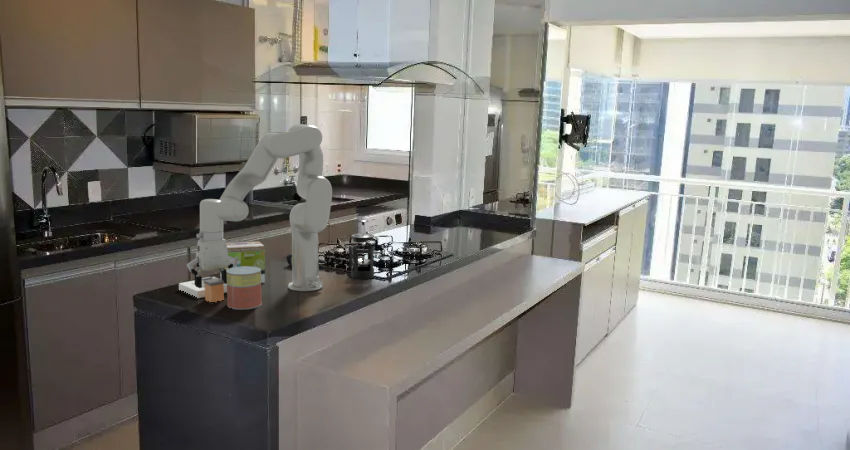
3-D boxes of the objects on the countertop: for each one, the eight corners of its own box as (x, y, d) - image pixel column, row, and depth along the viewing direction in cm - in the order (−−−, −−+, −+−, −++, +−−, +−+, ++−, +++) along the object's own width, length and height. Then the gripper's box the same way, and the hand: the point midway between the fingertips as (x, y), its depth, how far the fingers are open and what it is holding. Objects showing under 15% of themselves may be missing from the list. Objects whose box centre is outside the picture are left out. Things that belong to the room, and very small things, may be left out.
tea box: (225, 287, 240) (224, 248, 237) (220, 280, 248) (219, 242, 246) (265, 283, 246) (265, 245, 244) (259, 276, 255) (258, 240, 253)
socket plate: (234, 290, 235) (233, 282, 234) (197, 298, 225) (197, 289, 224) (214, 283, 244) (214, 275, 244) (179, 289, 234) (178, 281, 234)
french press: (380, 276, 260) (381, 220, 256) (366, 281, 252) (366, 223, 248) (357, 272, 266) (357, 216, 262) (342, 276, 258) (342, 219, 254)
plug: (224, 300, 223) (223, 280, 222) (211, 303, 220) (210, 283, 218) (217, 297, 226) (216, 278, 225) (204, 300, 223) (203, 280, 222)
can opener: (283, 267, 271) (283, 254, 270) (291, 263, 278) (290, 251, 277) (322, 271, 267) (322, 258, 266) (329, 267, 273) (329, 254, 272)
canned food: (263, 299, 225) (263, 266, 223) (259, 309, 214) (258, 274, 212) (230, 299, 224) (229, 266, 222) (224, 309, 213) (223, 274, 211)
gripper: (192, 240, 210) (193, 291, 213) (240, 235, 222) (240, 283, 225) (181, 236, 215) (182, 286, 218) (229, 231, 228) (229, 279, 230)
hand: (211, 285), depth 221 cm, fingers open, 9 cm apart
